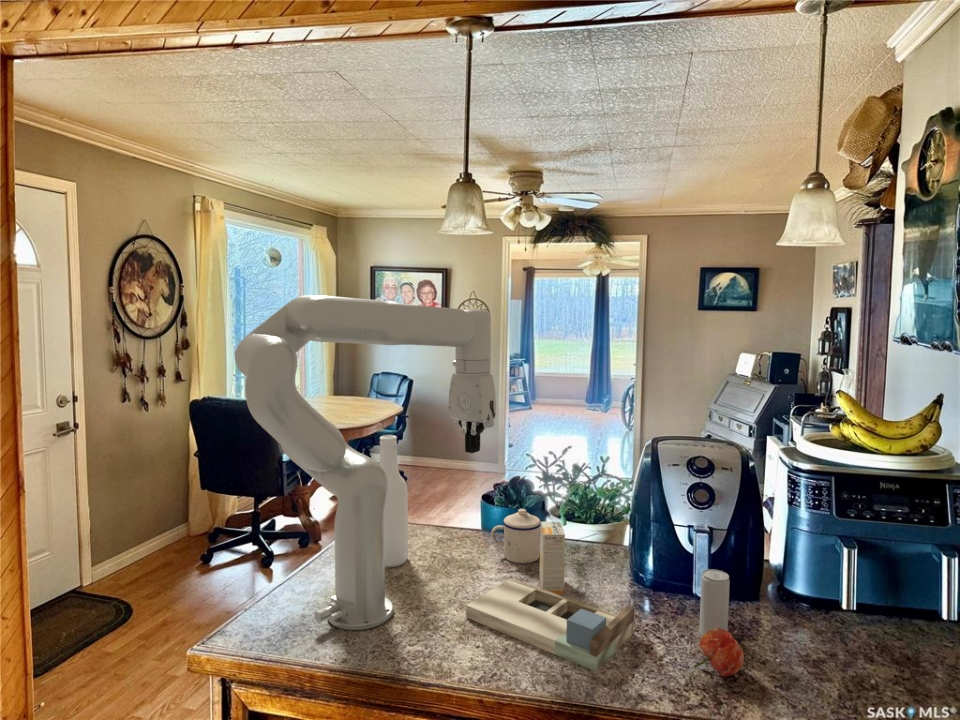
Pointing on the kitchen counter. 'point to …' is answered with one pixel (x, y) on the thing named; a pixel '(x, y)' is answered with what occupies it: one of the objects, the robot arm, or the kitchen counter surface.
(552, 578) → the supplement box
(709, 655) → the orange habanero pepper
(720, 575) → the beverage can
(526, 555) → the teacup with lid
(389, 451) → the alcohol
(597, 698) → the kitchen counter surface
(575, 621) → the slate block
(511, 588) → the board
